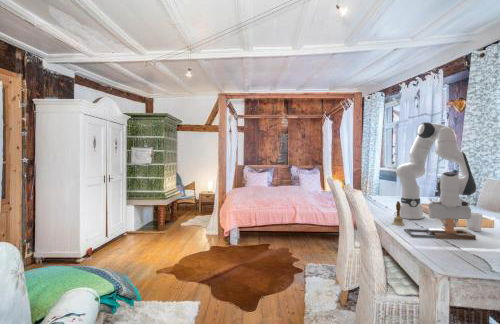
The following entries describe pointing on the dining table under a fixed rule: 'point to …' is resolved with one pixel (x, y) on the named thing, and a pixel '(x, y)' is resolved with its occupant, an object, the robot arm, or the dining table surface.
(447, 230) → the stepped wedge block
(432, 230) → the grey square block
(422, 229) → the tray
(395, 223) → the hand bell
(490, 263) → the dining table surface
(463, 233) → the slot board
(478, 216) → the white cup
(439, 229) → the light grey block
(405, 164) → the robot arm
